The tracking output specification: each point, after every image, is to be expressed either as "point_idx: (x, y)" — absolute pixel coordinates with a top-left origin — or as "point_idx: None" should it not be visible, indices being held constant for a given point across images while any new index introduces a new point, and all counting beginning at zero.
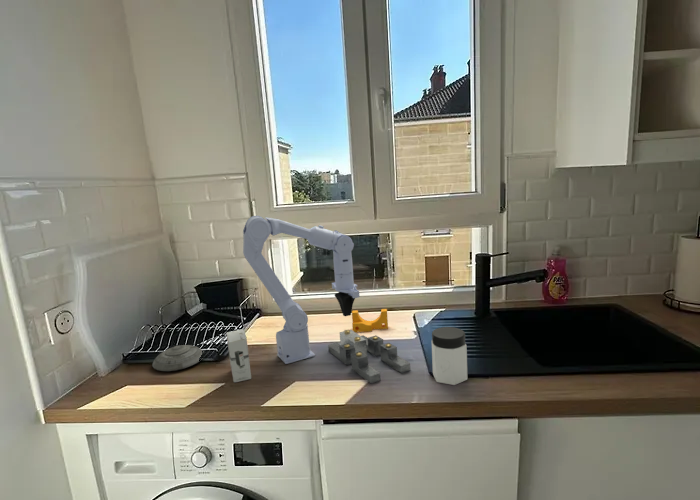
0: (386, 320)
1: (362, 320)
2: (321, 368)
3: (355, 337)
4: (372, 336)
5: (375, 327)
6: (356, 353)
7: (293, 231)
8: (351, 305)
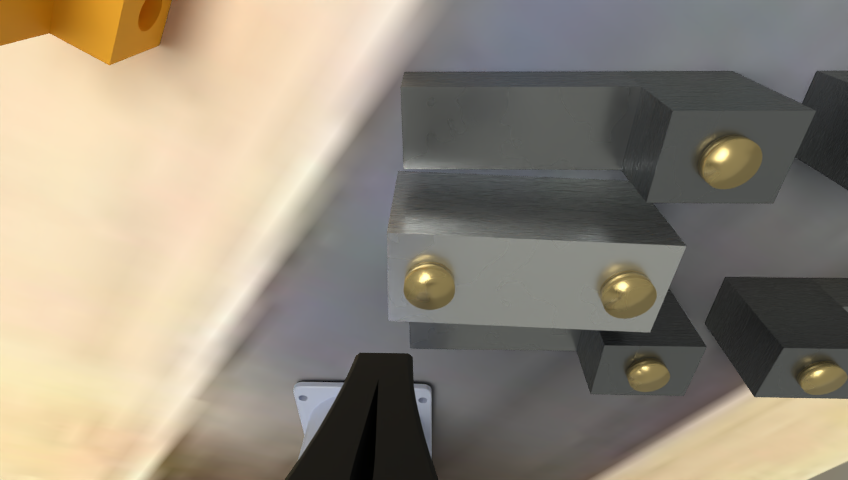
0: None
1: None
2: (571, 403)
3: (608, 305)
4: (663, 153)
5: None
6: (807, 390)
7: None
8: (428, 476)
